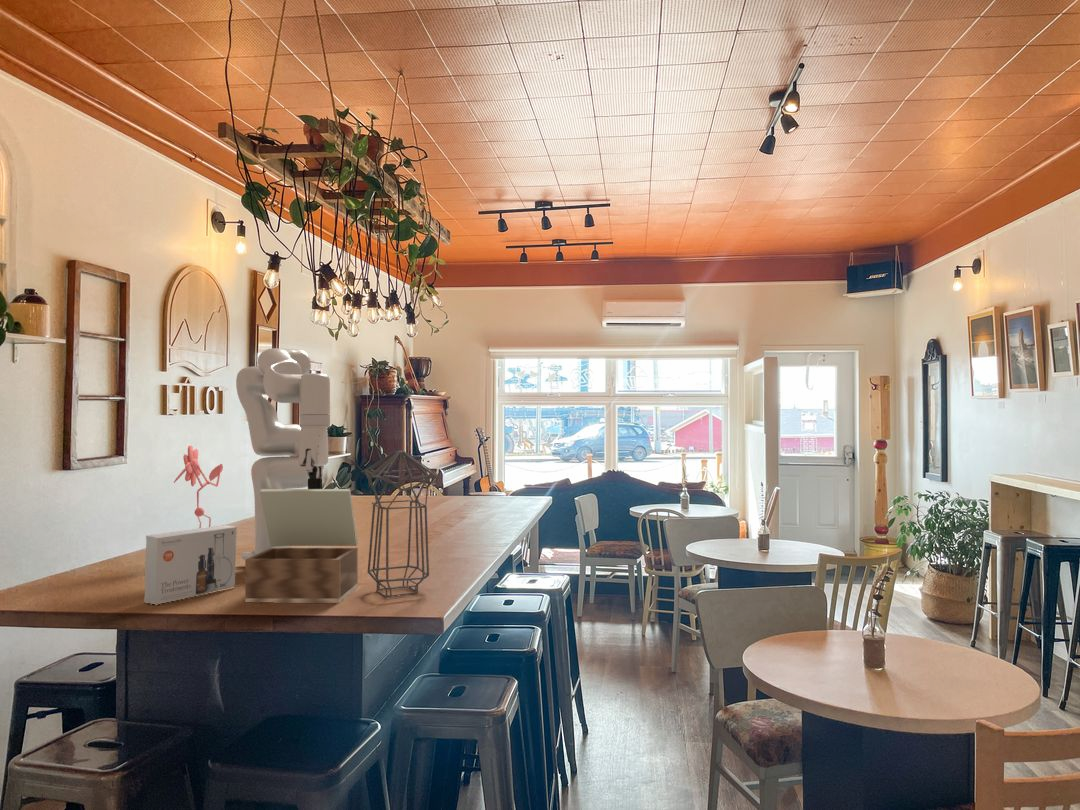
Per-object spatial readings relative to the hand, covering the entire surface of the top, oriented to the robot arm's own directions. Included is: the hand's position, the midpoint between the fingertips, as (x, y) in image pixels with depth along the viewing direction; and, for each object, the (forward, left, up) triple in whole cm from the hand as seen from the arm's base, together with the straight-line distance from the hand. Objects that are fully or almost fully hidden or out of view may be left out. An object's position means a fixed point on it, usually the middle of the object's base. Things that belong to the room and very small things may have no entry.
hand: (315, 493), depth 189 cm
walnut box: (0, -8, -24) cm, 25 cm away
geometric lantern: (+23, -6, -24) cm, 34 cm away
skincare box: (-27, -9, -24) cm, 37 cm away
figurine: (-49, +34, -24) cm, 64 cm away
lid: (0, -4, -6) cm, 7 cm away
